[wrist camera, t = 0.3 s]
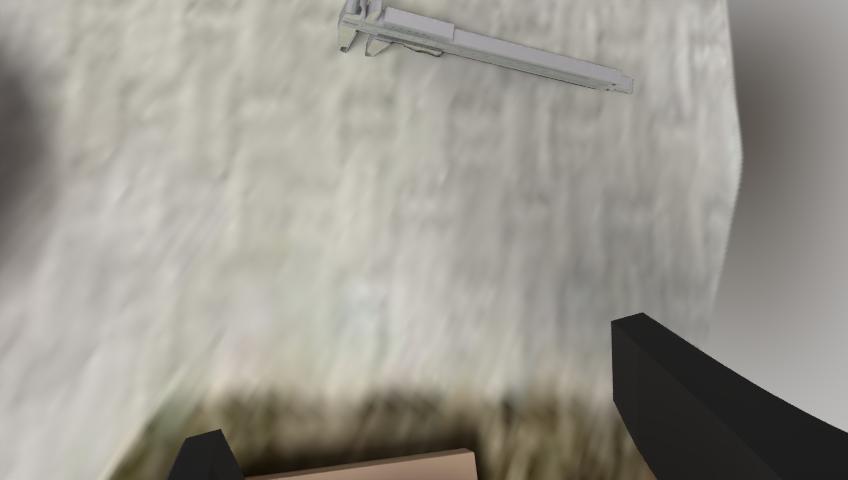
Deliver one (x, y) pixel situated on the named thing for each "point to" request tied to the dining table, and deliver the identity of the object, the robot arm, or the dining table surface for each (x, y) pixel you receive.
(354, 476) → the board
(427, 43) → the caliper
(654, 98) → the dining table surface
